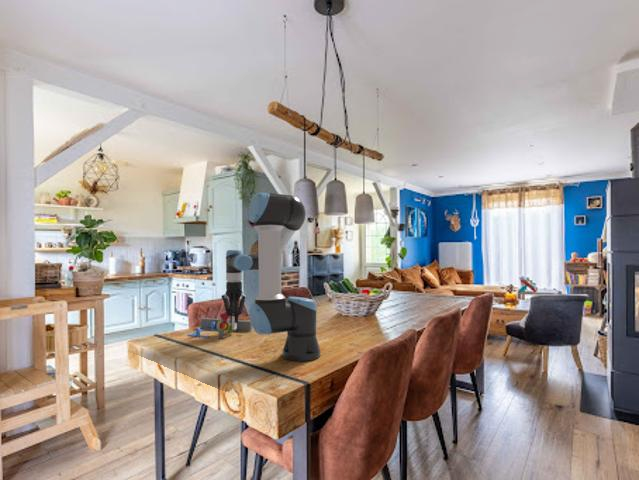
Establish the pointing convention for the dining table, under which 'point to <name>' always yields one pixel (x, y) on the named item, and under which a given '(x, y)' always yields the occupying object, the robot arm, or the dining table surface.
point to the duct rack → (212, 325)
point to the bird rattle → (222, 322)
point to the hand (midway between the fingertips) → (234, 329)
